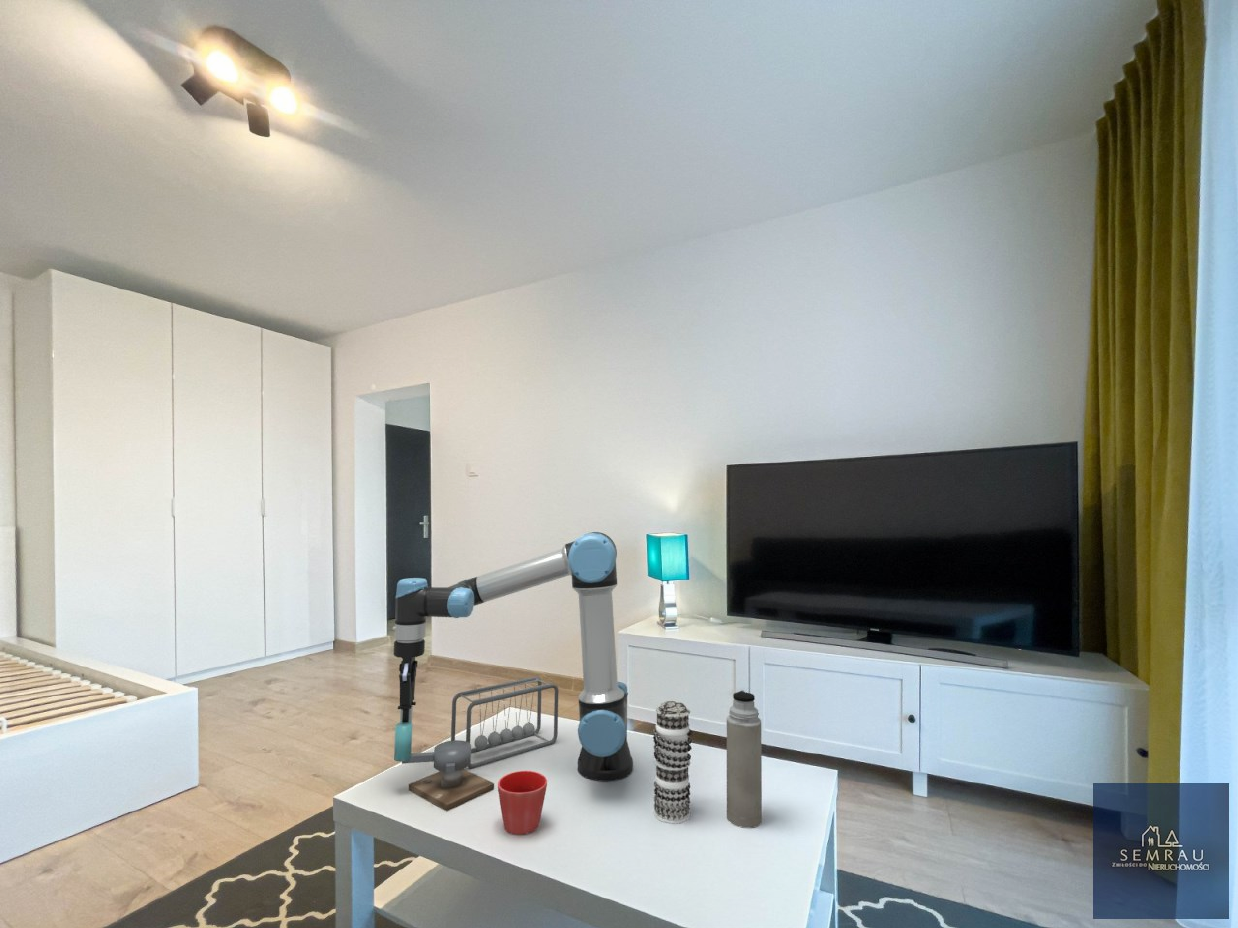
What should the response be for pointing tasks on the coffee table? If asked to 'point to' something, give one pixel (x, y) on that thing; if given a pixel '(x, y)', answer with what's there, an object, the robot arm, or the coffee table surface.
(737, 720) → the thermos bottle
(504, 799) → the flower pot
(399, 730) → the crank handle
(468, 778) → the post board
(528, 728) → the newton's cradle
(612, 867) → the coffee table surface
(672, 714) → the decorative candle
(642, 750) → the coffee table surface
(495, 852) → the coffee table surface
